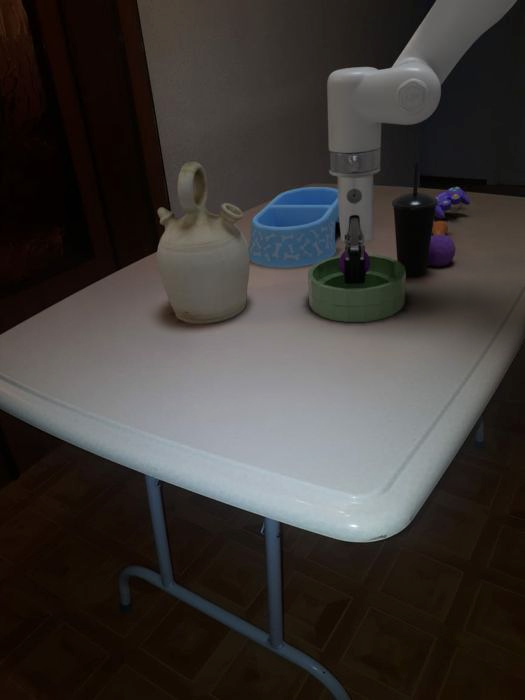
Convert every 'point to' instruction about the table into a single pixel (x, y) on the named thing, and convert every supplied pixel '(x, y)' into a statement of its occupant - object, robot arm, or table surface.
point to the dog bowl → (295, 228)
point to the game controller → (450, 201)
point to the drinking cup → (414, 228)
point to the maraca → (440, 246)
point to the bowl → (357, 290)
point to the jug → (202, 254)
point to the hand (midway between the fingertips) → (354, 274)
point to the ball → (343, 256)
